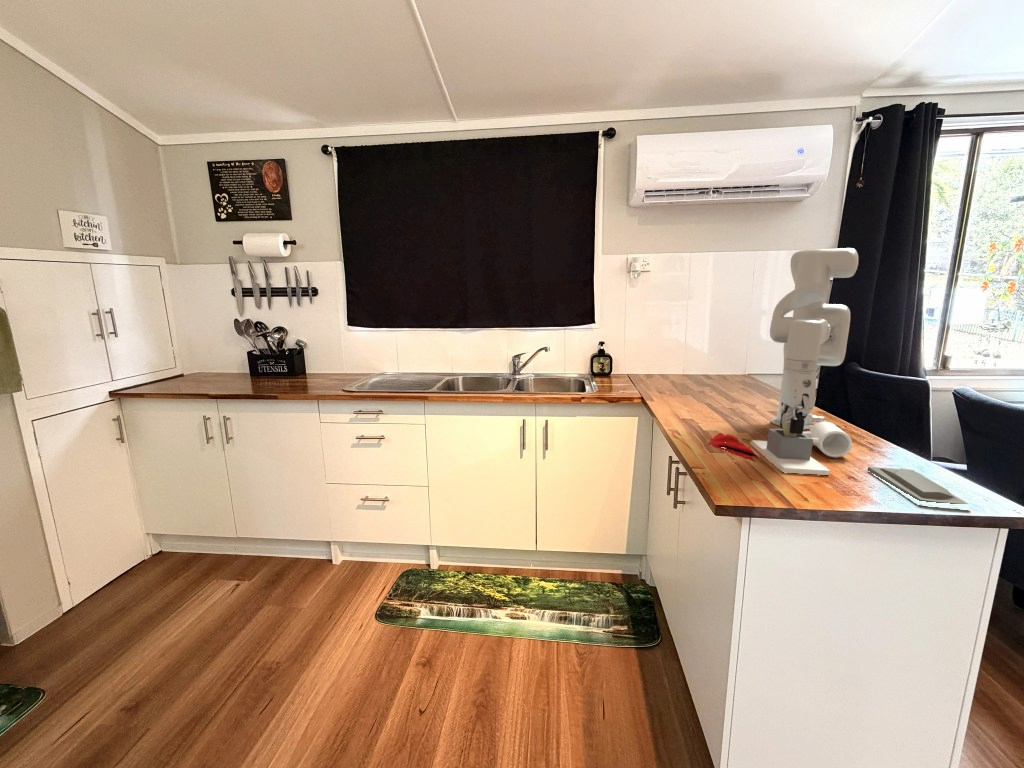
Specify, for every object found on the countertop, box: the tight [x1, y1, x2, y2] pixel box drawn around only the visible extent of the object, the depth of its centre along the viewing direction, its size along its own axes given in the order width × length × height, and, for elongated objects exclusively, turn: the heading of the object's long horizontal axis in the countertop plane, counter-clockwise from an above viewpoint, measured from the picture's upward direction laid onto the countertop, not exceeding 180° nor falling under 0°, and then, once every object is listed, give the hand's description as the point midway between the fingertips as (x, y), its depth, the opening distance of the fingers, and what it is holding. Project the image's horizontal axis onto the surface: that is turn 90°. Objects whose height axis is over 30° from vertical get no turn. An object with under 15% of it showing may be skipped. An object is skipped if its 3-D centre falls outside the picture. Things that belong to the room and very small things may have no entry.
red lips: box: [708, 432, 758, 462], centre depth 136 cm, size 26×14×2 cm, turn 163°
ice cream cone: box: [781, 407, 799, 437], centre depth 123 cm, size 5×5×15 cm
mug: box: [803, 421, 853, 458], centre depth 131 cm, size 12×10×8 cm
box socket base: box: [750, 428, 831, 476], centre depth 124 cm, size 11×22×8 cm, turn 172°
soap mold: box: [867, 466, 969, 504], centre depth 106 cm, size 10×20×4 cm, turn 168°
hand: (790, 429), depth 123 cm, fingers closed on ice cream cone, 5 cm apart
